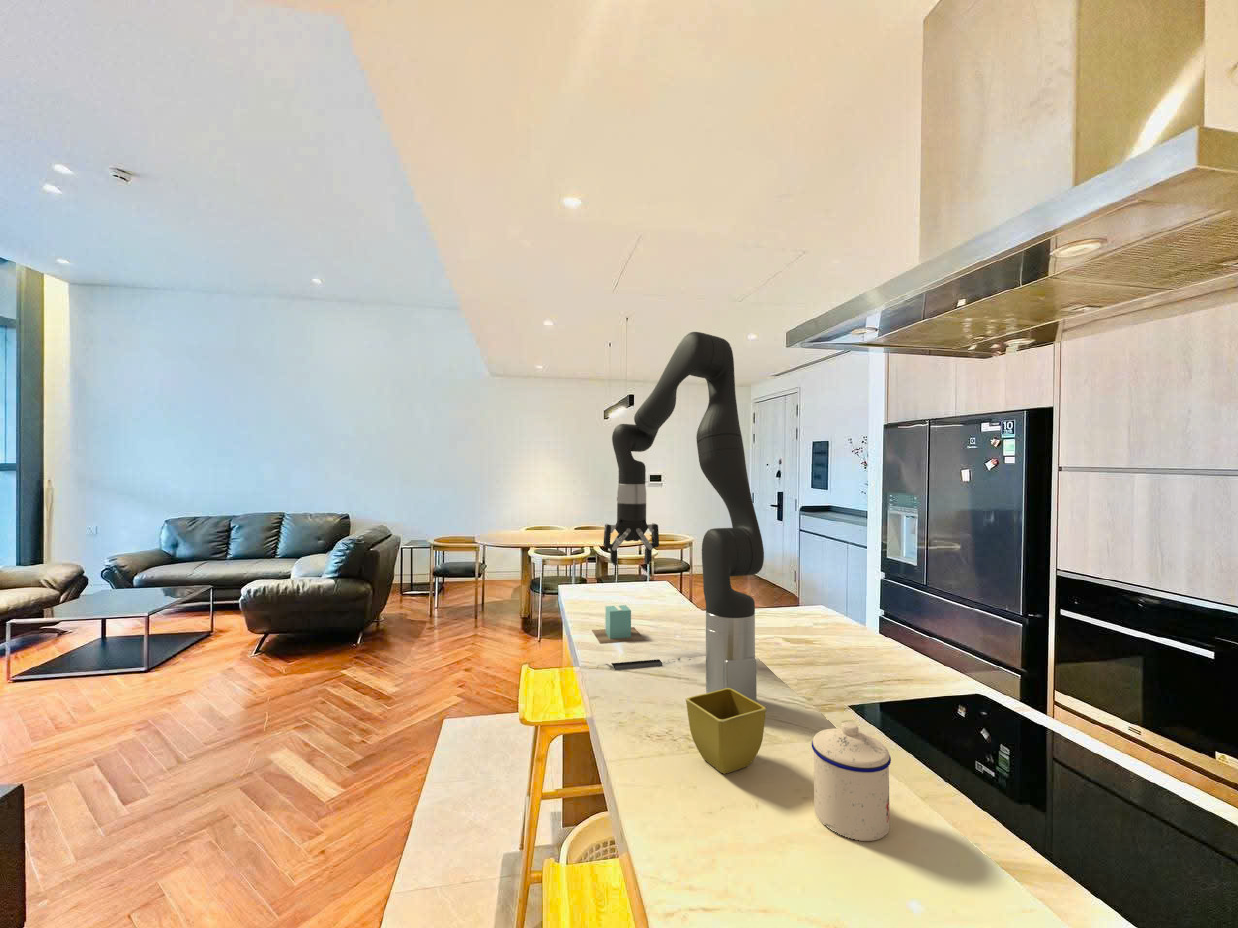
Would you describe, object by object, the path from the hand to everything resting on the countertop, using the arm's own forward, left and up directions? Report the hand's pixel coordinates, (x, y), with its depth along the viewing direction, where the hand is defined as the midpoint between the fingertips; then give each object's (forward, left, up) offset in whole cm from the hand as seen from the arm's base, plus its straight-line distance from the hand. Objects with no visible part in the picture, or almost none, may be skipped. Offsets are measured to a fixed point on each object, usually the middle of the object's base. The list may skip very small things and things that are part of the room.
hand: (631, 564), depth 133 cm
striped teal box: (+5, +2, -19) cm, 20 cm away
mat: (-10, +2, -21) cm, 23 cm away
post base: (+5, +2, -21) cm, 21 cm away
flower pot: (-56, 0, -21) cm, 60 cm away
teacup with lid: (-70, -10, -21) cm, 74 cm away
